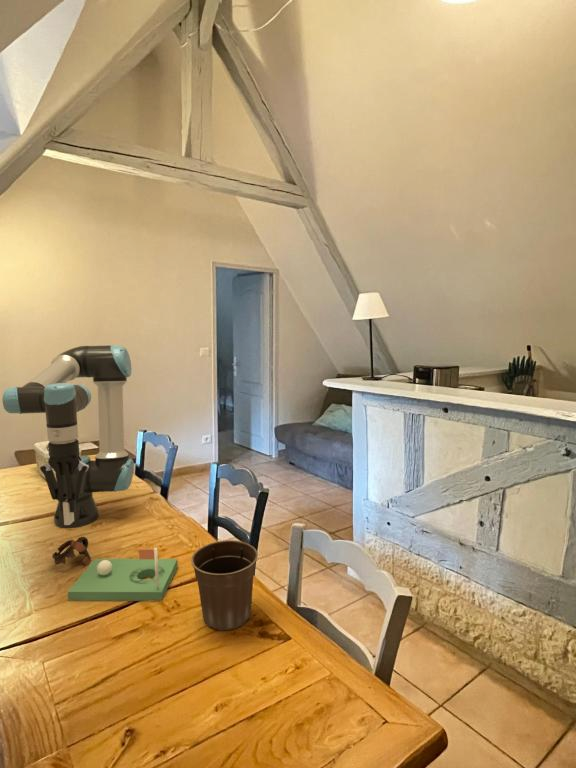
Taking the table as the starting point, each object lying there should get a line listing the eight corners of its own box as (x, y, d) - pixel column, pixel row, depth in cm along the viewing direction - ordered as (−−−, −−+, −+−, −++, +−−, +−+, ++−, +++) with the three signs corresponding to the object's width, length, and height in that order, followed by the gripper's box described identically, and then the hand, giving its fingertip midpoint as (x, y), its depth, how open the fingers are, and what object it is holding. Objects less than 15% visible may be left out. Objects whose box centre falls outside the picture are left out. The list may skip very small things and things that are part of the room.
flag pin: (142, 596, 124) (139, 547, 122) (159, 596, 124) (157, 547, 122) (141, 598, 123) (138, 549, 121) (159, 598, 123) (156, 549, 121)
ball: (100, 570, 132) (100, 557, 132) (114, 570, 132) (113, 557, 132) (94, 578, 128) (94, 564, 128) (109, 578, 128) (108, 564, 128)
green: (68, 600, 122) (67, 591, 122) (95, 566, 139) (94, 558, 139) (161, 600, 122) (161, 592, 122) (177, 566, 139) (177, 558, 139)
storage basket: (34, 471, 226) (32, 442, 224) (69, 464, 237) (67, 436, 235) (46, 484, 208) (44, 453, 206) (84, 476, 219) (82, 446, 217)
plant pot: (204, 646, 105) (202, 580, 103) (185, 607, 119) (183, 549, 117) (269, 624, 113) (268, 562, 110) (244, 590, 127) (243, 535, 125)
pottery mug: (84, 573, 137) (67, 553, 134) (60, 583, 139) (43, 564, 136) (102, 544, 148) (86, 525, 145) (79, 554, 150) (63, 535, 147)
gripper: (31, 444, 121) (38, 528, 125) (80, 444, 121) (86, 528, 124) (46, 437, 129) (53, 517, 132) (93, 436, 129) (98, 517, 132)
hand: (69, 522), depth 128 cm, fingers closed
